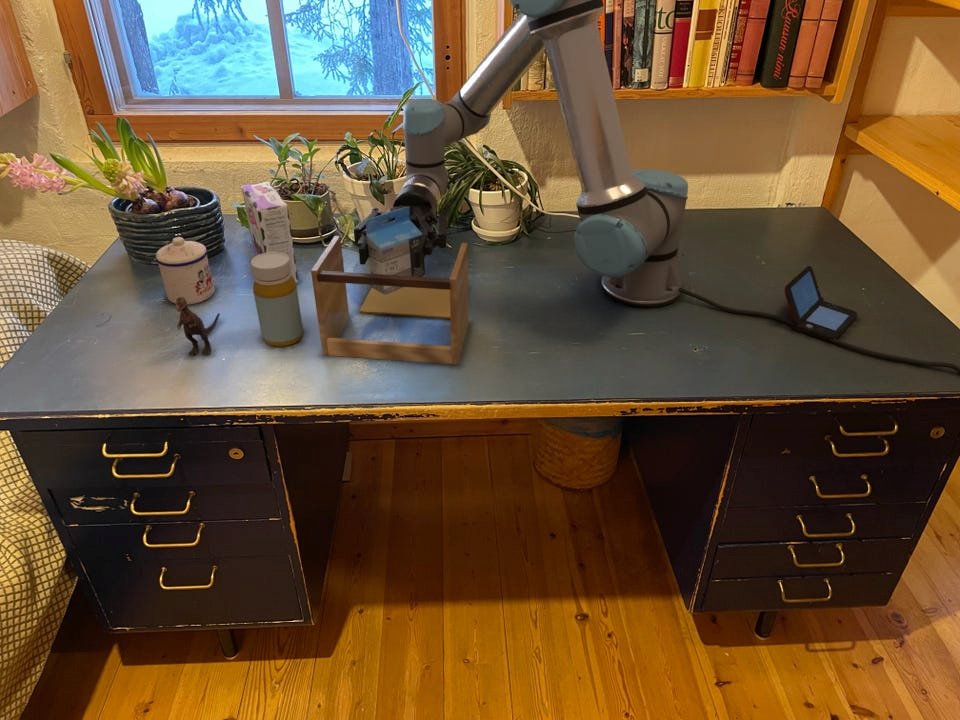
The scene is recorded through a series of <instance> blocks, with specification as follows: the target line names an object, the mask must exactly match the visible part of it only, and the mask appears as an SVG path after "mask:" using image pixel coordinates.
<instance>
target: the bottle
mask: <svg viewBox="0 0 960 720" xmlns="http://www.w3.org/2000/svg"><path fill="white" fill-rule="evenodd" d="M250 267H251V272H252V275H253V283H252V292H253V296H254V302H255V307H256V312H257V313H256V314H257V317H258V318H257V319H258V324H259V328H260V333H261V337H262V340H263V341H264V342H265V343H266V344H268V345H269V346H272V347H276V348H282V347H288V346H292V345H294V344H297V343H298V342H299V341H300V340H301V338H302V337H303V336H304V326H303V320H302V313H301V308H300V301H299V294H298V287H297V283H296V282H295V280H294V278H293V277H292V273H291V265H290V259H289V257H288V256H287V255H286V254H284V253H280V252H268V253H263V254H260V255H257V256H254V257H253V258H252V259H251V260H250Z"/></svg>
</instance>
